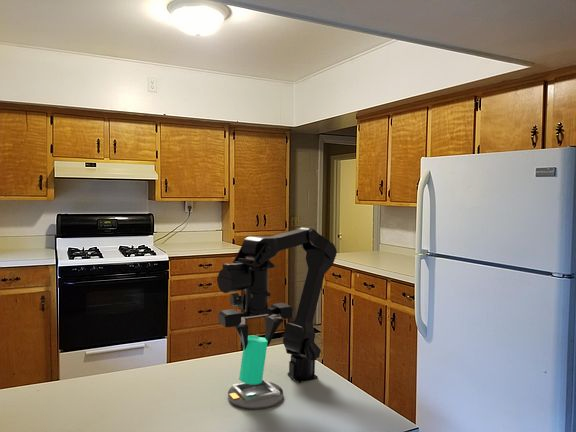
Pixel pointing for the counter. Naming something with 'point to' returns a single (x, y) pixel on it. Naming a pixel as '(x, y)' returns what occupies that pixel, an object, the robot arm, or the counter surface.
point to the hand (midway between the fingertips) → (256, 347)
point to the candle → (253, 360)
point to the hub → (255, 395)
